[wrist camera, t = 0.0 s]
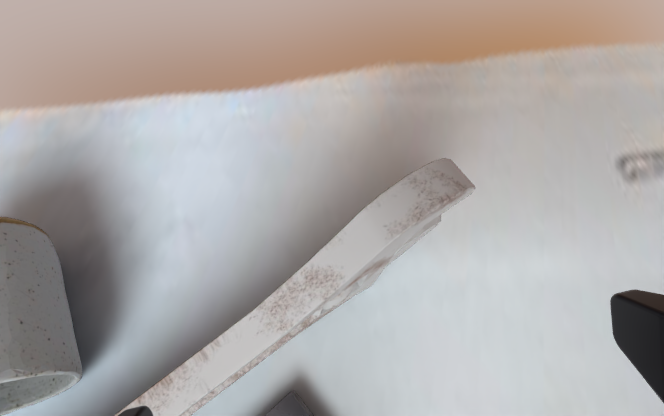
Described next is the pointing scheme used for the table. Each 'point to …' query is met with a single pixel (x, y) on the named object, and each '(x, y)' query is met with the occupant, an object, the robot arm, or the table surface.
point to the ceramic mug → (33, 319)
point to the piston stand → (290, 407)
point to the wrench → (314, 287)
